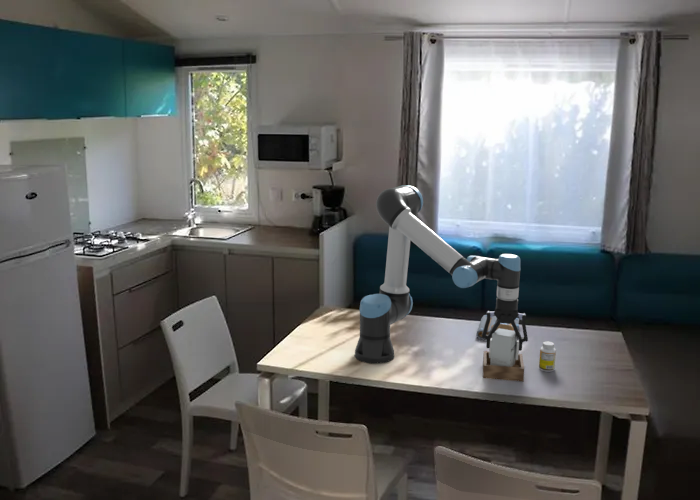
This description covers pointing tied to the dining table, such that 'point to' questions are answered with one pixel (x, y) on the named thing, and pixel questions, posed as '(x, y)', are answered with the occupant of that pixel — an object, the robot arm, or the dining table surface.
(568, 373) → the dining table surface
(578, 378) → the dining table surface
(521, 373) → the tray
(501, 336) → the supplement box
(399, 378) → the dining table surface
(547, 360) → the supplement bottle
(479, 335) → the book
